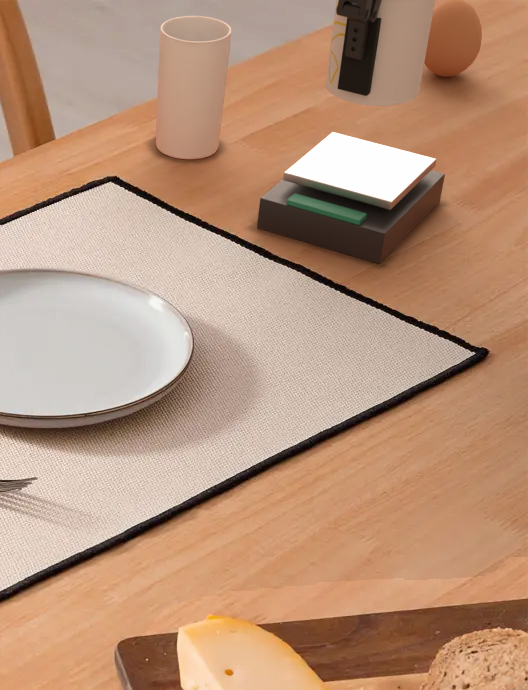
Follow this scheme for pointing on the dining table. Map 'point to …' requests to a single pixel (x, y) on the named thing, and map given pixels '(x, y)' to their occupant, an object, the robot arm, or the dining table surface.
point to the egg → (453, 38)
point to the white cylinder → (388, 53)
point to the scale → (347, 217)
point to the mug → (191, 85)
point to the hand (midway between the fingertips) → (374, 73)
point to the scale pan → (360, 170)
